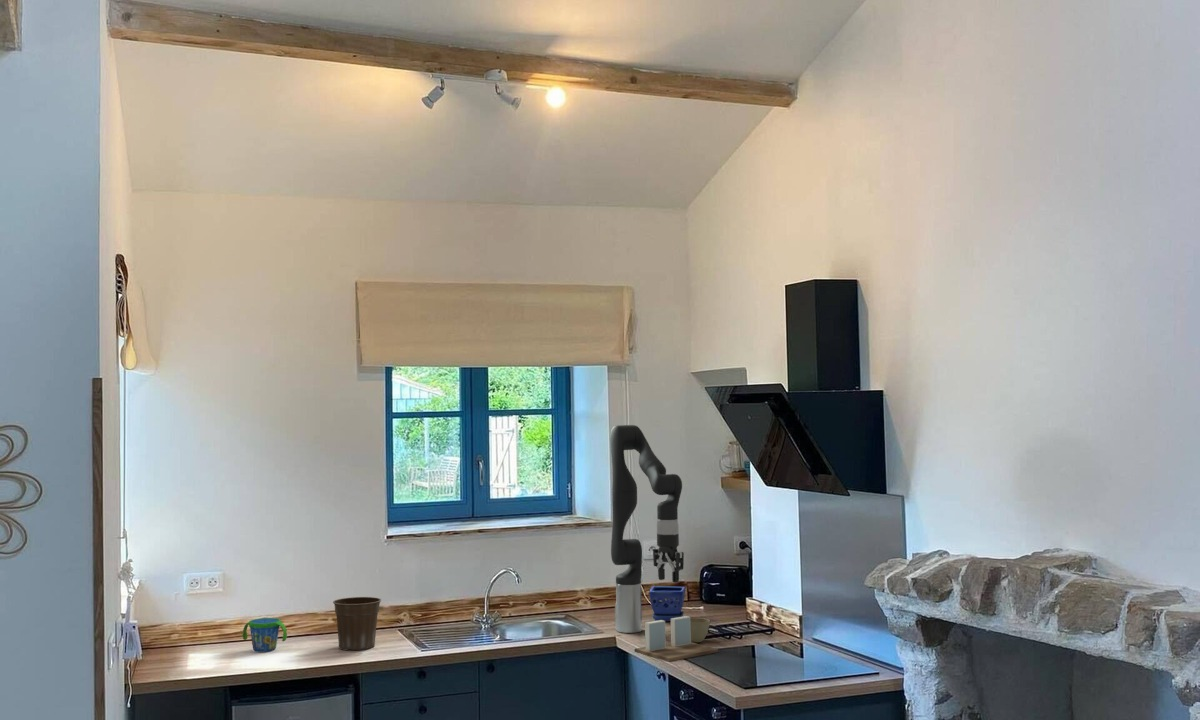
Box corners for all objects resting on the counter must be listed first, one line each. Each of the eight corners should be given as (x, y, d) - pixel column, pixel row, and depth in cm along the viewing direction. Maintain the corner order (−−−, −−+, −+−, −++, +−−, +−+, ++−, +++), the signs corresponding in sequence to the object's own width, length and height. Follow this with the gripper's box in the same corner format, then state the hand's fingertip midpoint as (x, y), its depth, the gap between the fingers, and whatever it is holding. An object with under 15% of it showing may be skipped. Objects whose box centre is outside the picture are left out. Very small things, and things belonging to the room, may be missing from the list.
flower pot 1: (652, 616, 411) (651, 585, 412) (686, 616, 409) (685, 585, 410) (649, 622, 398) (648, 590, 399) (684, 622, 396) (683, 591, 397)
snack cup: (293, 648, 362) (293, 618, 362) (275, 654, 352) (275, 624, 352) (254, 646, 366) (254, 616, 367) (235, 652, 356) (235, 622, 357)
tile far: (671, 645, 351) (670, 618, 352) (686, 642, 355) (686, 616, 356) (675, 646, 350) (674, 619, 350) (691, 643, 354) (690, 616, 354)
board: (634, 651, 347) (634, 648, 347) (682, 643, 359) (682, 640, 360) (669, 661, 333) (669, 658, 333) (718, 652, 345) (717, 648, 345)
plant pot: (365, 640, 373) (365, 594, 374) (390, 646, 362) (390, 599, 363) (324, 647, 362) (324, 600, 363) (349, 654, 350) (348, 605, 351)
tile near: (645, 650, 345) (645, 622, 345) (661, 647, 349) (661, 620, 350) (649, 651, 343) (649, 623, 344) (665, 648, 347) (665, 620, 348)
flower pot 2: (708, 644, 357) (708, 623, 358) (679, 643, 359) (679, 622, 360) (711, 638, 367) (711, 617, 367) (683, 637, 369) (682, 617, 369)
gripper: (646, 531, 363) (647, 579, 362) (672, 535, 352) (673, 584, 351) (662, 530, 368) (663, 577, 367) (689, 533, 356) (690, 582, 355)
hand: (668, 580), depth 359 cm, fingers open, 7 cm apart
